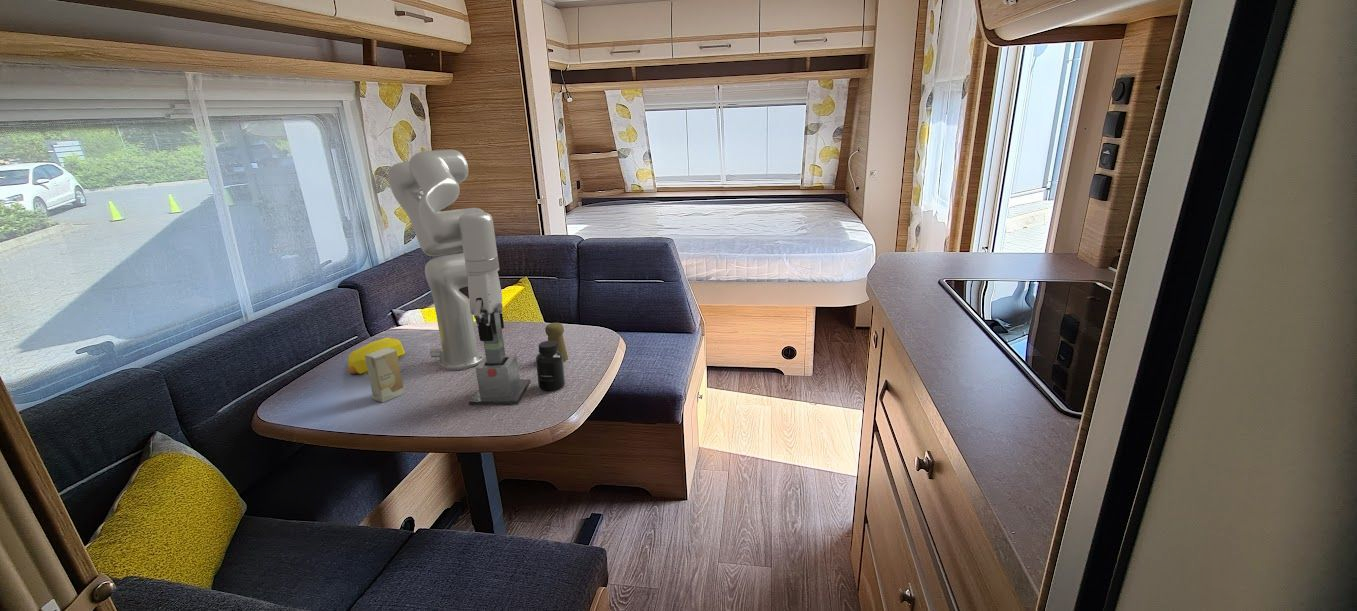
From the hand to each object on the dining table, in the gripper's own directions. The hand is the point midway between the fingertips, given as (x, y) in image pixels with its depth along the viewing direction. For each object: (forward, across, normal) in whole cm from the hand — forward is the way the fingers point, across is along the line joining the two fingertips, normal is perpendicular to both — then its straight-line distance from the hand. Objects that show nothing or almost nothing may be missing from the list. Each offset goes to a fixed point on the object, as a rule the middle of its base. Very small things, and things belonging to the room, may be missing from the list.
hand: (492, 334), depth 141 cm
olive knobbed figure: (+17, -21, +10) cm, 29 cm away
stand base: (+16, 0, 0) cm, 16 cm away
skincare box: (+17, 0, -29) cm, 33 cm away
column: (+9, 0, 0) cm, 9 cm away
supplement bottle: (+17, -4, +12) cm, 21 cm away
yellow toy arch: (+17, -21, -43) cm, 51 cm away
